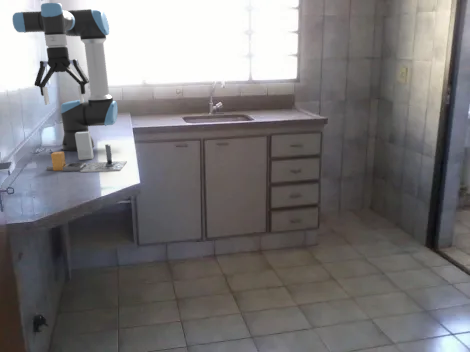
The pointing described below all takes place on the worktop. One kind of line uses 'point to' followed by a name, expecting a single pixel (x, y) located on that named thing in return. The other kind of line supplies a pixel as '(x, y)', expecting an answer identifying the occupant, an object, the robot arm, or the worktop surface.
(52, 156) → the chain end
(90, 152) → the skincare box
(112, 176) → the worktop surface
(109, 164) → the post
